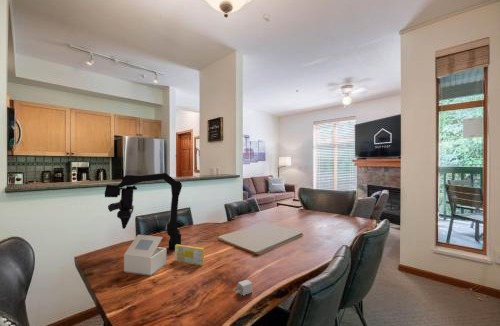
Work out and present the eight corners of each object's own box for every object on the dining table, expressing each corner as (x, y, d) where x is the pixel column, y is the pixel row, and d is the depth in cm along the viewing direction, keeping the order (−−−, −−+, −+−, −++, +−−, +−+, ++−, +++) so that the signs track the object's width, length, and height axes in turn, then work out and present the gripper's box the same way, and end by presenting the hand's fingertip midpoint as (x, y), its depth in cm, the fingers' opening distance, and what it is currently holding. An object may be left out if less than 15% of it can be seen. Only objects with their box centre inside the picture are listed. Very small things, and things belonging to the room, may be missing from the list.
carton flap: (138, 235, 114) (137, 234, 114) (162, 237, 111) (162, 236, 111) (124, 255, 106) (124, 254, 105) (150, 258, 102) (150, 257, 102)
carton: (142, 260, 117) (142, 245, 117) (166, 264, 114) (166, 248, 114) (124, 272, 106) (124, 255, 106) (150, 276, 103) (150, 258, 102)
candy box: (204, 264, 115) (204, 248, 115) (202, 266, 113) (202, 249, 113) (177, 259, 120) (177, 243, 120) (174, 261, 118) (174, 245, 118)
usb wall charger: (252, 293, 91) (252, 283, 91) (237, 299, 87) (237, 288, 87) (246, 288, 94) (246, 278, 94) (232, 294, 90) (232, 283, 90)
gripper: (112, 194, 130) (110, 222, 130) (106, 200, 113) (104, 232, 113) (134, 195, 135) (132, 221, 135) (131, 200, 117) (129, 231, 117)
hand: (124, 226), depth 125 cm, fingers open, 9 cm apart
